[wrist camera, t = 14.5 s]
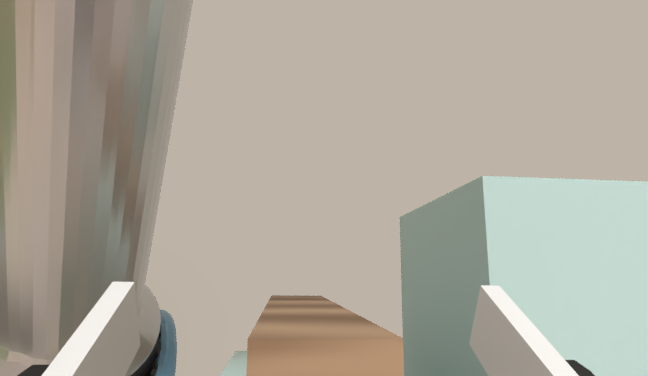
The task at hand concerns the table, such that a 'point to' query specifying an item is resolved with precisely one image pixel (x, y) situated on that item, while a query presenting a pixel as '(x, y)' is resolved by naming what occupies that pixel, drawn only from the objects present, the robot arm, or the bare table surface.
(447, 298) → the step shelf
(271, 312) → the walnut rod
